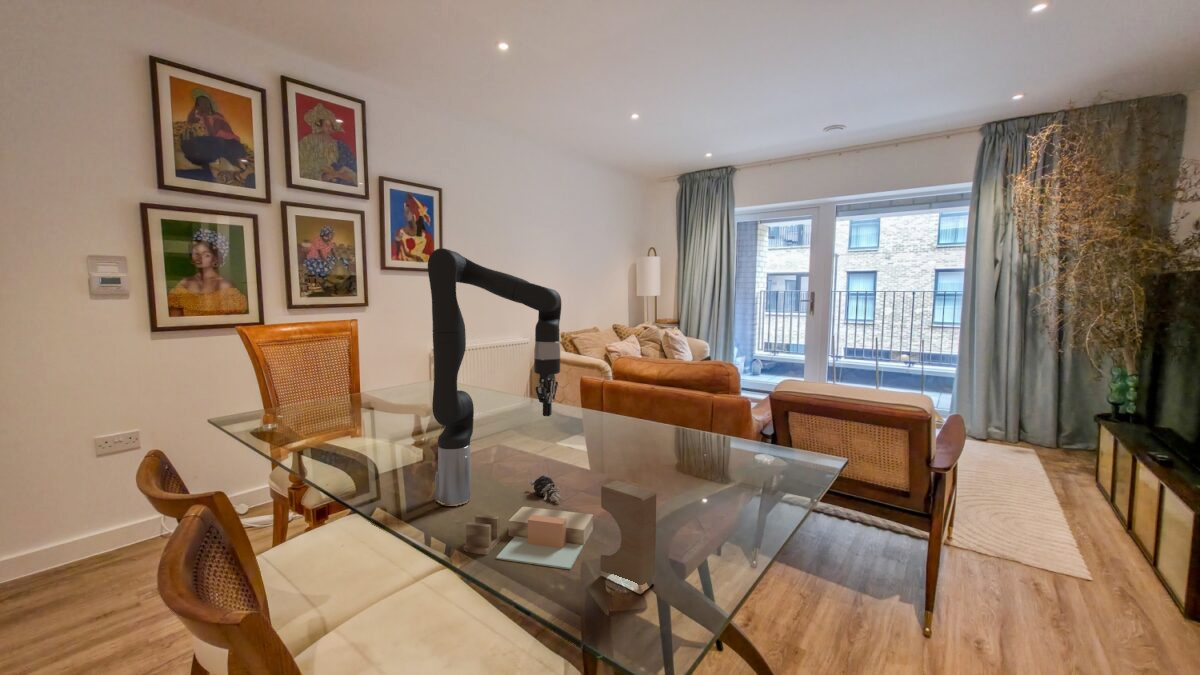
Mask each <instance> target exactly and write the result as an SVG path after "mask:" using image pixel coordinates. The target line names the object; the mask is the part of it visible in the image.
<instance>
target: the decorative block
mask: <svg viewBox="0 0 1200 675" xmlns="http://www.w3.org/2000/svg"><path fill="white" fill-rule="evenodd" d="M600 489H601V490H600V492H601V493H600V494H601V495H600V496H601V497H600V507H601V509H602V510H605V511H606V512H608V513H609V514H610V515H611V517H612V518H613V519H614V520H615V522H616V524H617V526H618V528H619V531H620V537H621V538H620V539H621V540H620V545H619V546H616V545H615V546H614V547H612V548H610V549H609V550H607V551H605V552H604V553H602V554H601V555H600V563H599V564H600V566H599V567H600V570H601V571H603V572H606V573H610V574H614V575H617V576H619V577H622V578H625V579H628V580H630V581H633V582H635V583H637V584H638V585H643V584H645V583H646V582H648V581H649V580H650V579H651V578H652V577H653V576H654V575H655V576H656V548H657V547H656V543H657V542H656V540H657V537H656V536H657V535H656V533H657V531H656V530H657V493H656V491H653V490H650V489H647V488H644V487H640V486H638V485H633V484H630V483H627V482H624V481H620V480H617V479H616V480H613V481H611V482H608V483H607V484H604V485H602V486H601V488H600Z"/></svg>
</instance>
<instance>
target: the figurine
mask: <svg viewBox="0 0 1200 675" xmlns="http://www.w3.org/2000/svg"><path fill="white" fill-rule="evenodd" d="M529 484H530V486H533V490H534V492H535V495H537V496H539V497H544V498H543V499H542V501H543V502H545V501H547V498H548V497H549V501H550V502H557V503H560V501H563V497H562V496H561V493H560V491H558V490H561V486H558V487H556V485H555V483H554V481H553V479H552V478H551V477H548V476H545V475H542V476H539V477H538V478H536V479H535V480H530V482H529Z"/></svg>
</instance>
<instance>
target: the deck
mask: <svg viewBox="0 0 1200 675" xmlns="http://www.w3.org/2000/svg"><path fill="white" fill-rule="evenodd" d="M532 515H539V516H548V517H556V518H565V519H566V543H571V544H579V545H583V547H584V546H585V544H586V543H587V541H588V539H589V538H590V535H591V533H592V532H593V530H594V514H592V513H584V512H576V511H575V512H574V511H565V510H556V509H548V508H547V509H546V508H540V507H539V508H538V507H530V506H521V508H520V509H518V510H517V511H516V513H514V515H512V517H511V518H509V519H508V536H509V537H513V538H514V537H515V536H518V537H525V538H528V519H529V518H530V517H531V516H532Z"/></svg>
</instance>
